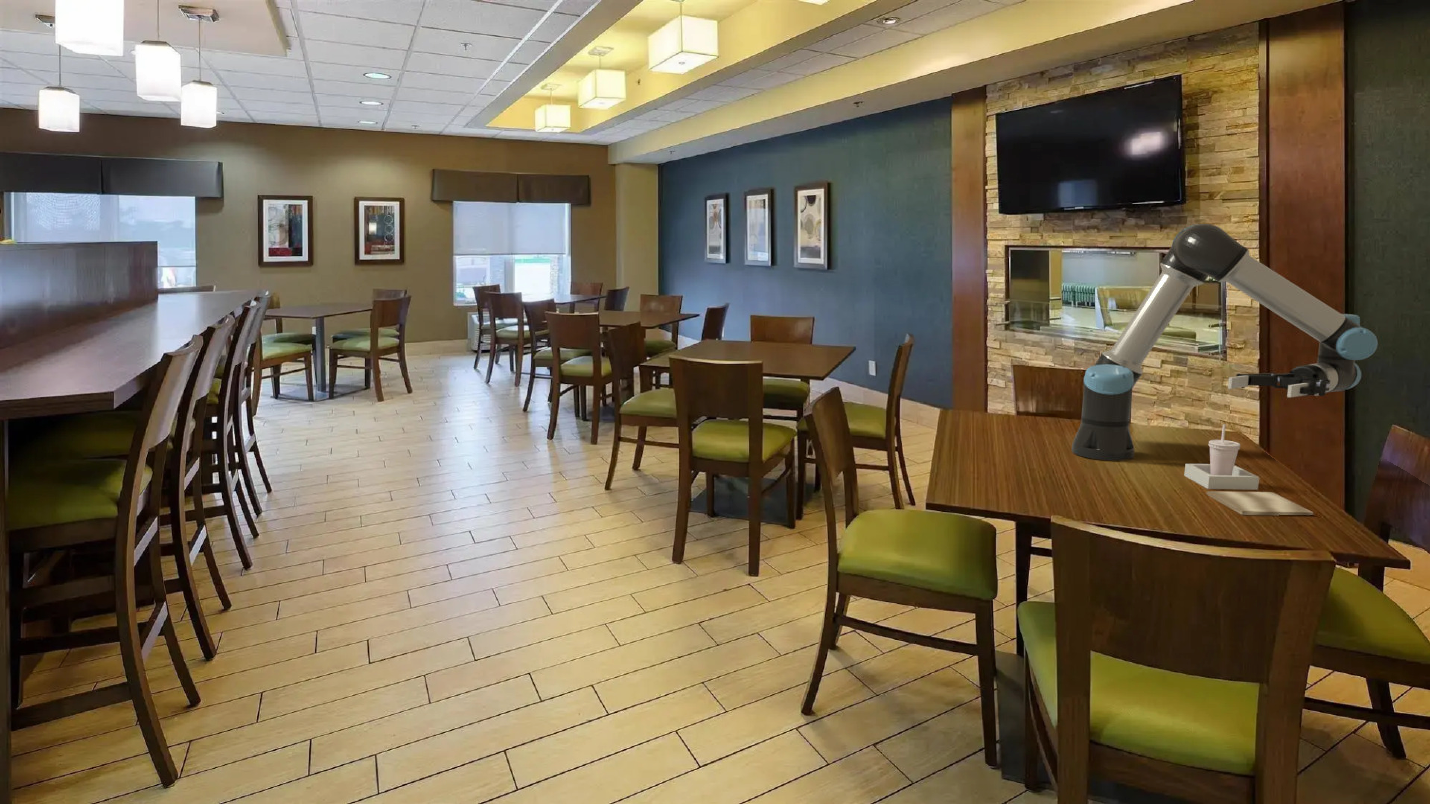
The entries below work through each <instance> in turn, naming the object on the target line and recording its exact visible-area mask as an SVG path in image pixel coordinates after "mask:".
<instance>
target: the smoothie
mask: <svg viewBox="0 0 1430 804" xmlns="http://www.w3.org/2000/svg"><path fill="white" fill-rule="evenodd" d="M1221 430H1222V431H1221V439H1211V440H1209V441H1208V444H1207V445H1208V446H1209V461H1210V463H1209V464H1210V472H1211V475H1230V476H1231V475H1232V471H1233V467H1234V465H1235V464H1236V460H1237V456H1238V451H1239V450H1240V449H1241V444H1240V443H1239V442H1236V441H1231V440H1228V439H1227V440H1226V439H1225V435H1226V424H1222V429H1221Z"/></svg>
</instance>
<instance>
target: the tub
mask: <svg viewBox="0 0 1430 804" xmlns="http://www.w3.org/2000/svg"><path fill="white" fill-rule="evenodd" d="M1183 476H1184V477H1186V478H1187V479H1189V480H1191V481H1193V482H1194V483H1196V484H1197V485H1200V486H1202V487H1203V488H1205V489H1208V490H1243V491H1244V490H1245V491H1246V490H1253V491H1255V490H1256V491H1257V490H1259V484H1260V476H1258V475H1256V474H1253V473H1251V472H1250V471H1248V470H1245V469H1243V468H1241V467H1239V466H1237V465H1235V464H1234V467H1233V471H1232V475H1231V476H1230V475H1211V472H1210V463H1185V467H1184V474H1183Z"/></svg>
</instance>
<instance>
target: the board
mask: <svg viewBox="0 0 1430 804" xmlns="http://www.w3.org/2000/svg"><path fill="white" fill-rule="evenodd" d="M1206 495H1207V496H1209V497H1211V498H1212V499H1214V500H1215V501H1217V502H1219V503H1220V504H1222V505H1224V506H1225V507H1227V508H1229V509H1231V510H1233V511H1235V512H1236V513H1238V514H1240V515H1242V516H1279V515H1313V516H1314V512H1313V511H1311V510H1309V509H1307V508H1305V507H1303V506H1301V505H1299V504H1297V503H1295V502H1293V501H1292V500H1289V499H1287V498H1285V497H1283V496H1281V495H1279V494H1277V493H1275V492H1273V491H1271V492H1270V491H1222V490H1220V491H1218V490H1217V491H1216V490H1214V491H1213V490H1211V491H1210V490H1209V491H1208V490H1207V492H1206Z"/></svg>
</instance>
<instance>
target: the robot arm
mask: <svg viewBox="0 0 1430 804" xmlns="http://www.w3.org/2000/svg"><path fill="white" fill-rule="evenodd" d="M1159 265H1160V268H1161V273H1160V275H1159V276H1158V278H1157V279H1156V281H1155V282H1154V284H1153V285H1152V287H1151V289H1150V290H1149V291H1148V293H1147V294H1146V296H1145V297H1144V299H1143V300H1142V302H1141V303H1140V305H1139V307H1138V308H1137V309H1136V311H1135V313H1134V314H1133V316H1132V317H1131V319H1130V320H1129V321H1128V324H1127V325H1126V326H1125V328H1124V330H1123V331H1122V333H1121V334H1120V335H1119V337H1118V339H1117V340H1116V341H1115V343H1114V344H1113V346H1112V348H1111V349H1109V350H1106V351H1103V352H1102V353H1101V354H1100V355H1099V357H1098V359H1097V360H1096V362H1095V363H1094V364H1093V365H1091V366H1089V367H1088V368H1087V369H1086V370H1085V373H1084V377H1083V394H1082V405H1081V406H1082V407H1081V420H1080V425H1079V428H1078V430H1077V432H1076V434H1075V436H1074V439H1073V441H1072V444H1071V452H1072V453H1073V454H1074V455H1076V456H1080V457H1083V458H1086V459H1087V458H1088V459H1093V460H1100V461H1116V462H1117V461H1128V460H1130V459H1131V460H1132V459H1133V458H1134V456H1135V447H1134V446H1135V445H1134V443H1133V442H1134V441H1133V438H1132V435H1131V434H1132V433H1131V431H1130V419H1131V408H1132V400H1133V399H1132V397H1133V388H1134V386H1135V385H1136V383H1137V382H1138V381H1139V379H1140V378H1141V376H1142V375H1143V372H1144V371H1143V369H1142V365H1143V362H1145V359H1146V358H1147V357H1148V355H1149V353H1150V352H1151V351H1152V349H1153V348H1154V346H1155V345H1156V343H1157V342H1158V340H1159V339H1160V338H1161V337H1162V335H1163V333H1164V331H1165V330H1166V329H1167V327H1168V325H1169V324H1170V322H1171V321H1172V319H1173V318H1175V315H1176V314H1177V313H1178V311H1179V309H1180V307H1181V306H1182V305H1183V303H1184V302H1185V301H1186V299H1187V298H1188V296H1189V294H1190V293H1191V292H1192V290H1193V289H1194V287H1197V286H1201V285H1204V283H1205V282H1206V281H1207V279H1208V278H1209V277H1210V278H1212V279H1214V280H1215V281H1217V282H1219V283H1223V282H1225V283H1228V284H1229V285H1231V286H1232V287H1233V288H1235V289H1237V290H1238V291H1241V292H1242V293H1243V294H1245V295H1247V296H1248V297H1249V298H1251V299H1253V300H1254V301H1256V302H1257V303H1258V304H1261V305H1262V306H1264V308H1266V309H1268V310H1270V311H1272V312H1273V313H1274V314H1276V315H1278V316H1279V317H1281V318H1282V319H1284V320H1285V321H1287V322H1288V323H1290V324H1291V325H1293V326H1295V327H1296V328H1298V329H1299V330H1300V331H1302V332H1304V333H1306V334H1308V335H1309V336H1310V337H1312V338H1313V339H1314V340H1316V341H1318V343H1319V344H1318V346H1319V347H1318V355H1317V362H1316V363H1310V364H1309V363H1308V364H1304V365H1303V364H1302V365H1297V366H1295V367H1294V368H1292V369H1291V370H1290V371H1289V372H1285V373H1275V372H1267V373H1236V376H1231V377H1228V384H1227V389H1229V390H1233V389H1245V388H1247V387H1251V386H1253V387H1256V386H1259V387H1272V388H1274V389H1285V390H1287V395H1286V396H1287V397H1286V398H1295V397H1296V398H1297V397H1308V396H1309V397H1310V396H1315V397H1319V396H1320V397H1324V396H1326V394H1327V393H1333V392H1343V391H1346V390H1349V389H1352V388H1354V387H1356V385H1358V384H1359V382H1360V381H1361V378H1362V371H1361V369H1360V366H1359V365H1358V364H1357V363H1356V361H1362V360H1365V359H1367V358H1369V357H1370V356H1372V355H1373V354H1374V353H1375V352H1376V350H1377V349H1378V343H1379V342H1378V339H1377V336H1376V335H1375V333H1373V332H1372V331H1371V330H1369V329H1368V328H1366V327H1362V326H1361V325H1360V324H1361V318H1360V316H1359V315H1357V314H1349V313H1341V312H1339V311H1337V310H1336V309H1334V308H1332V307H1331V306H1330V305H1328V304H1326V303H1325V302H1323V301H1321V300H1320V299H1318V298H1317V297H1315V296H1313V295H1312V294H1310V293H1309V292H1307V291H1306V290H1305V289H1303V288H1301V287H1300V286H1298V285H1296V284H1295V283H1293V282H1292V281H1290V280H1288V279H1286V278H1285V277H1284V276H1283V275H1280V274H1279V273H1278V272H1276V271H1274V270H1273V269H1271V268H1269V267H1268V266H1267V265H1265V264H1264V263H1262V262H1260V261H1258V260H1257V259H1255V258H1254V257H1252V256H1251V255H1250V249H1248V248H1247V247H1245V246H1244V245H1242V244H1240V242H1238V241H1237V240H1235V239H1234V238H1233V237H1232V236H1230V235H1229V234H1228V232H1226V231H1225V230H1223V229H1222V228H1221V227H1219V226H1217V225H1214V224H1211V223H1198V224H1193V225H1189V226H1187V227H1185V228H1184V229H1182V230H1181V231H1180V232H1179V233H1177V235H1175V237H1174V239H1173V241H1172V243H1171V246H1170V248H1169V250H1168V251H1167V253H1166V254H1165V256H1164V257H1163V259H1162V260H1161V262H1160V263H1159ZM1278 384H1279V385H1278Z"/></svg>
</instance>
